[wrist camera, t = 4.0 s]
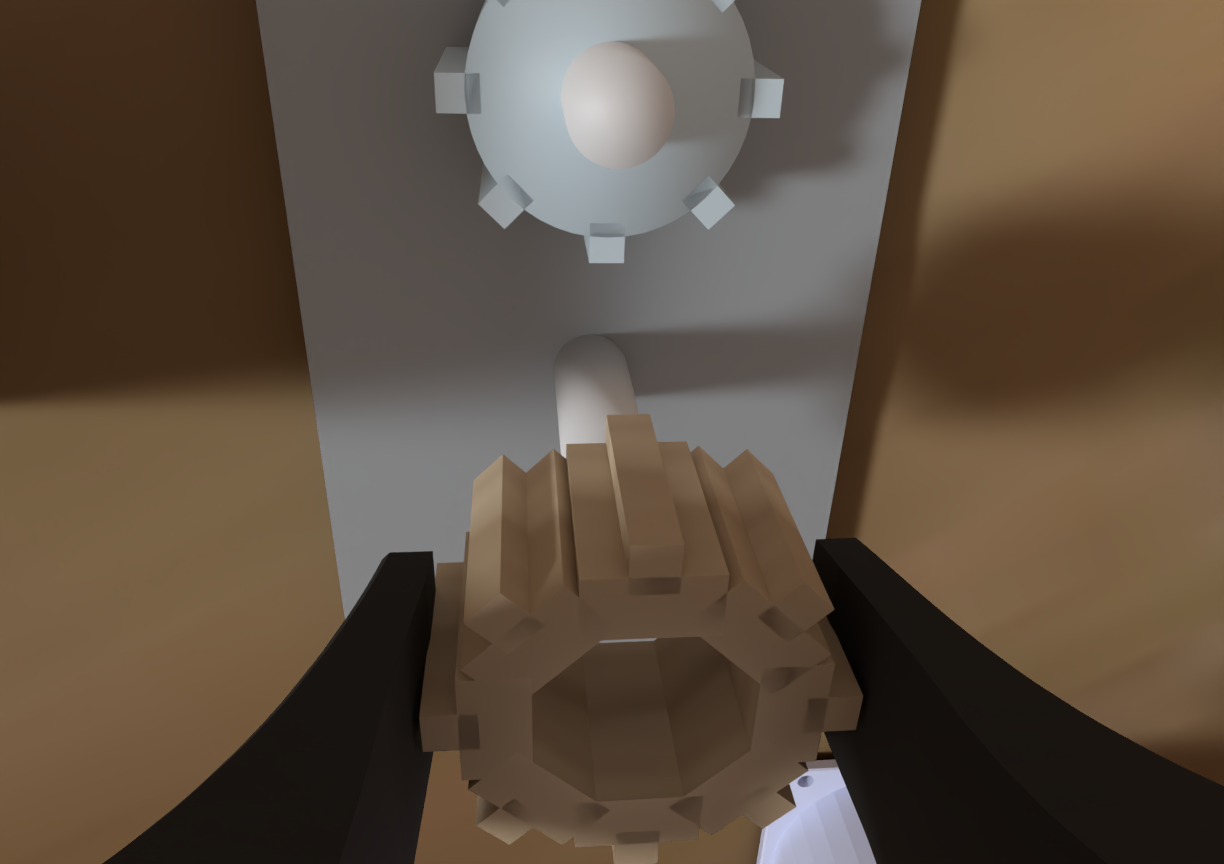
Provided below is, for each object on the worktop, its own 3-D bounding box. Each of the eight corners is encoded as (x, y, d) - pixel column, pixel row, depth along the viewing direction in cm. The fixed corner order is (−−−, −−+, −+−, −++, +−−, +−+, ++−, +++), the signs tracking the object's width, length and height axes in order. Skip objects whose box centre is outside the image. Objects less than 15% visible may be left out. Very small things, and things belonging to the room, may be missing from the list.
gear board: (958, -371, 15) (1161, -495, 11) (791, 633, 26) (854, 798, 21) (214, -420, 14) (61, -585, 9) (360, 650, 25) (323, 828, 20)
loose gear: (822, 411, 13) (898, 537, 10) (776, 695, 16) (828, 852, 13) (426, 417, 12) (402, 553, 10) (448, 711, 15) (435, 877, 13)
